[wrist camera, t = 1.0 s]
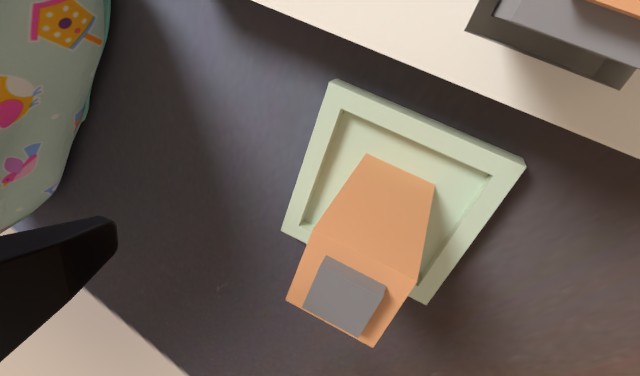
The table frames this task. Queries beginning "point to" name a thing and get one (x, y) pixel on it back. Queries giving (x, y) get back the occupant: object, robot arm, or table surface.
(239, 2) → the table surface
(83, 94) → the lunch box
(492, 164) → the tray
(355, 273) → the plug
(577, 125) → the outlet strip
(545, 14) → the twin plug
